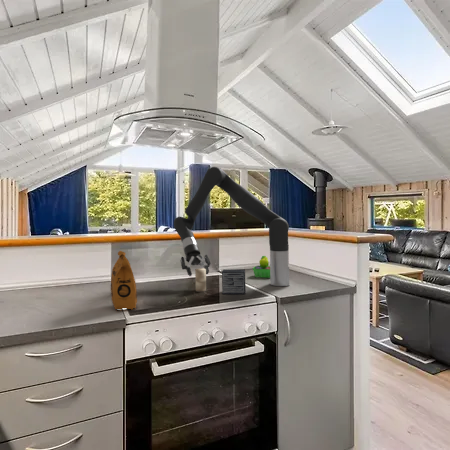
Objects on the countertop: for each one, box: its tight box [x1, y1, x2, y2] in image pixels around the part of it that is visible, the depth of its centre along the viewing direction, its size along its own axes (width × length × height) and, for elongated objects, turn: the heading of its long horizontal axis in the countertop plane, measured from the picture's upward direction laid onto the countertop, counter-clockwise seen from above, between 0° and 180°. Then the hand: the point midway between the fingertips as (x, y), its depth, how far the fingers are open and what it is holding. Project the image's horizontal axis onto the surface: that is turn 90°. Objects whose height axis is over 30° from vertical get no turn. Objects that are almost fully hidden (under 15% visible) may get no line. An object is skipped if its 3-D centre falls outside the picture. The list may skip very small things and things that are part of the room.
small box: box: [221, 268, 247, 295], centre depth 147 cm, size 11×6×10 cm, turn 84°
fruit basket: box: [252, 255, 270, 279], centre depth 180 cm, size 11×9×11 cm
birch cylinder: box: [194, 267, 207, 293], centre depth 152 cm, size 5×5×10 cm
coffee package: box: [110, 250, 138, 310], centre depth 128 cm, size 10×12×22 cm
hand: (199, 274), depth 154 cm, fingers open, 8 cm apart
